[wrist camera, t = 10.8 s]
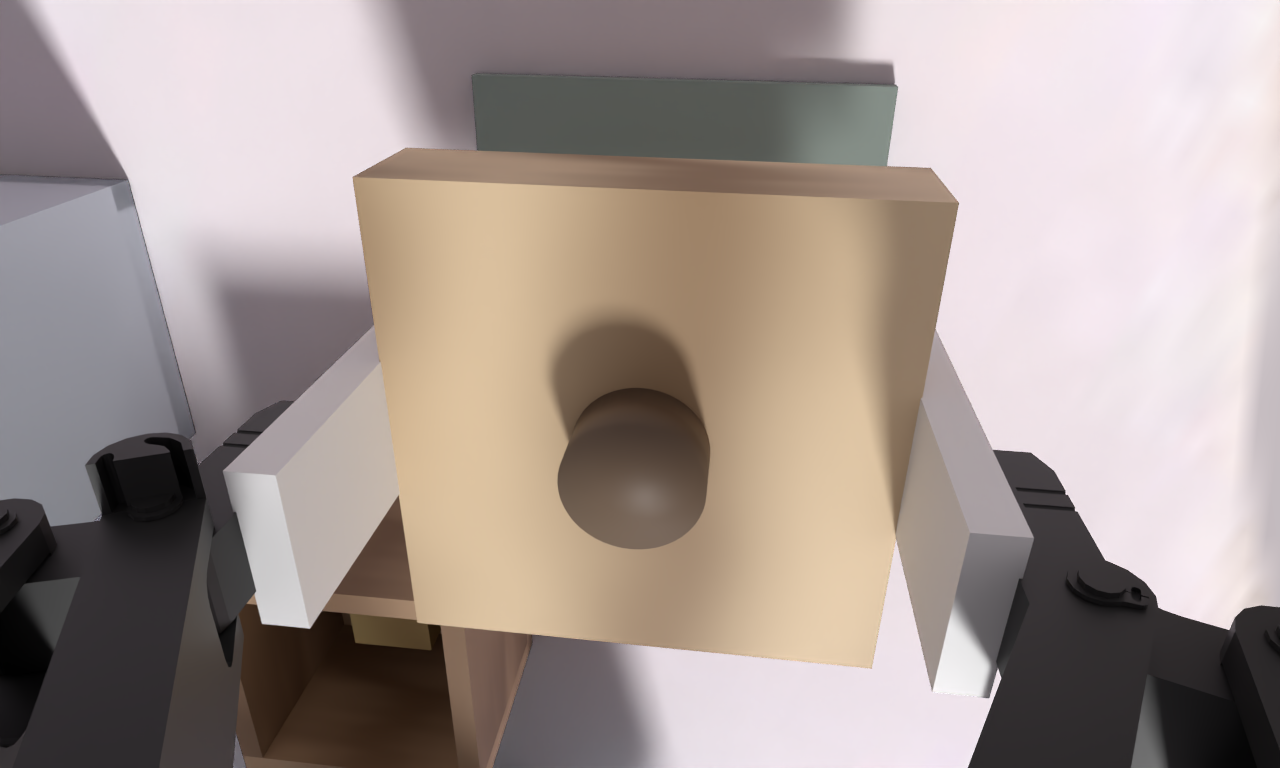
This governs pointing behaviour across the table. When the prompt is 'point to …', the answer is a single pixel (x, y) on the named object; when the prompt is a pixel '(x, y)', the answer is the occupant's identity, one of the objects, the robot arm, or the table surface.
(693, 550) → the lid
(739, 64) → the table surface
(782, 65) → the table surface
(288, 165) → the table surface
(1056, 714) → the robot arm
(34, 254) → the blue-grey box
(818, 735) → the table surface
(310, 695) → the walnut box
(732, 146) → the felt mat
